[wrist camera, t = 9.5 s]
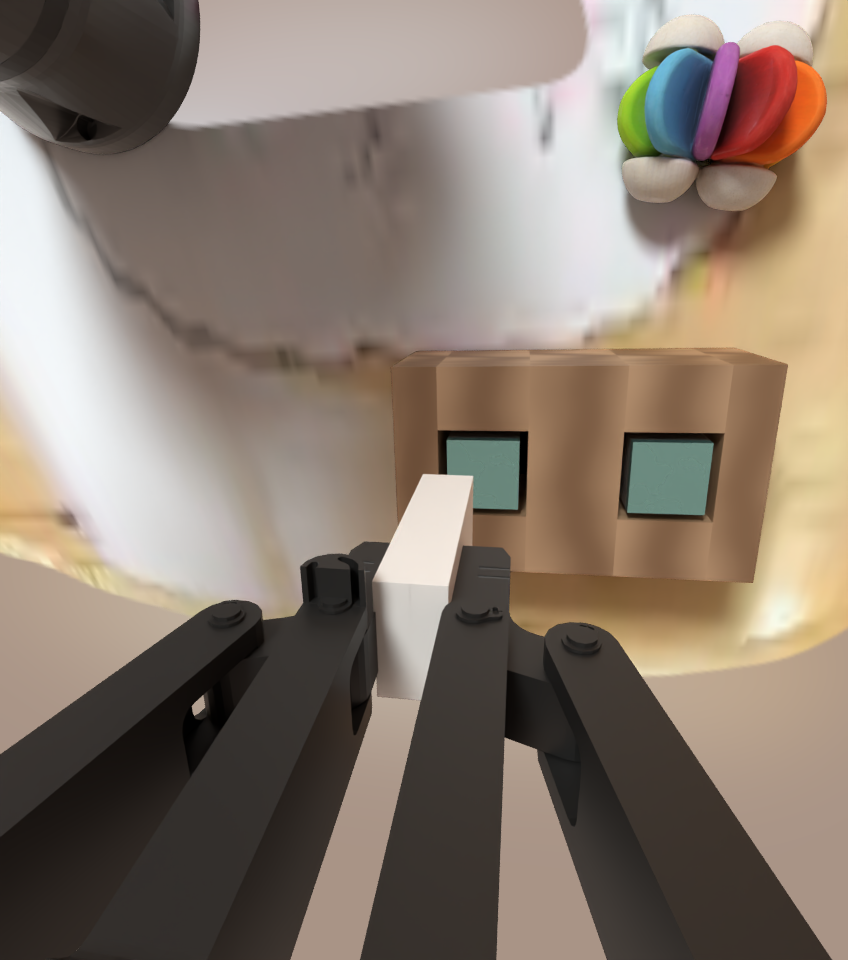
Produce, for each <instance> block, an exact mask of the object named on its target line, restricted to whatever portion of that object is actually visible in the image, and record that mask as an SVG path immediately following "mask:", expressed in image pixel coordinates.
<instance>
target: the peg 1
mask: <svg viewBox="0 0 848 960" xmlns="http://www.w3.org/2000/svg"><path fill="white" fill-rule="evenodd" d="M519 463H520V431H467V430H452V431H451V433H450V435H449V437H448V439H447V475H463V476H473V508H483V509H515V510H518V495H519Z"/></svg>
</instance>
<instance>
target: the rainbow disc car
mask: <svg viewBox="0 0 848 960" xmlns="http://www.w3.org/2000/svg"><path fill="white" fill-rule="evenodd" d="M642 62H643V64H644V65H645V67H647V68H648V69H649V70H648V71H647V72H645V73H644V74H642V75H641V76H640V77H639V78H638V79H636V80H635V81H634V83H633V84H632V85H631V86H630V87H629V89H628V90H627V92H626V93H625V95H624V96H623V98H622V100H621V103H620V106H619V111H618V118H617V124H618V131H619V135H620V137H621V139H622V141H623V143H624V144H625V146H626V147H627V149H628V150H629V151H630V152H631V153H632V155H633V156H634V157H636V158H632V159H629V160H627V161H625V162H624V163H623V166H622V175H623V181H624V184H625V186H626V188H627V190H628V191H629V193H630V194H631V195H632V196H633V197H634V198H636V199H637V200H640V201H645V202H652V203H666V202H670V201H673V200H675V199H676V198H678V197H680V196H681V195H682V194H683V193H685V192H686V191H687V190H688V189H689V188H690V186H691V185H692V183H693V182H694V180H695V179H696V187H697V191H698V194H699V196H700V198H701V200H702V201H703V202H704V203H705V204H706V205H707V206H709V207H710V208H714V209H718V210H726V211H742V210H746V209H748V208H750V207H752V206H754V205H755V204H757V203H758V202H760V201H761V200H762V199H763V198H764V197H765V196H766V195H767V194H768V193H769V191H770V190H771V189H772V187H773V185H774V183H775V182H776V179H777V176H776V174H775V173H774V172H772V171H770V170H768V168H769V167H771V166H773V165H775V164H776V163H778V162H779V161H781V160H783V159H784V158H786V157H787V156H789V155H791V154H792V153H794V152H796V151H797V150H798V149H799V148H801V147H802V146H803V145H804V144H805V143H806V142H807V141H808V140H809V139H810V137H811V136H812V135H813V134H814V132H815V131H816V130H817V128H818V127H819V125H820V123H821V121H822V120H823V117H824V115H825V112H826V104H827V95H826V89H825V86H824V83H823V81H822V78H821V77H820V75H819V74H818V73H817V72H816V71H815V70H814V69H813V68H812V67H811V66H812V62H813V48H812V43H811V40H810V38H809V36H808V34H807V33H806V31H805V30H804V29H803V28H801V27H800V26H799V25H797V24H795V23H792V22H788V21H773V22H767V23H764V24H762V25H760V26H758V27H756V28H754V29H753V30H751V31H750V32H749V33H747V34H746V35H745V36H744V37H743V38H742V39H741V40H740V41H739V42H738V43H737V44H736V43H734V42H728V43H725V42H724V39H723V35H722V33H721V31H720V29H719V28H718V26H717V25H716V24H715V23H714V22H713V21H712V20H710V19H709V18H707V17H704V16H701V15H684V16H679V17H677V18H675V19H673V20H671V21H669V22H668V23H666V24H665V25H664V26H662V27H661V28H660V29H659V30H658V31H657V32H656V33H655V35H654V36H653V37H652V38H651V40H650V42H649V43H648V45H647V47H646V49H645V52H644V55H643V59H642ZM706 159H708V161H709V163H710V165H708V166H705V167H702V168H699V167H698V165H697V164H696V160H698V161H703V160H706Z"/></svg>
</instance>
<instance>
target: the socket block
mask: <svg viewBox="0 0 848 960" xmlns="http://www.w3.org/2000/svg"><path fill="white" fill-rule="evenodd" d="M787 368H788V364H785V363H781V362H778V361H775V360H772V359H769V358H766V357H762V356H759V355H756V354H753V353H750V352H746V351H743V350H740V349H737V348H668V349H576V350H483V351H416V352H414V353H413V354H411V355H409V356H408V357H406V358H405V359H403V360H401V361H400V362H398V363H397V364H395V365H394V366H392V367H391V380H392V402H393V425H394V448H395V470H396V493H397V516H398V526H399V524H400V522H401V519H402V517H403V515H404V513H405V511H406V509H407V507H408V505H409V503H410V500H411V498H412V496H413V494H414V492H415V490H416V488H417V486H418V484H419V482H420V479H421V477H422V475H423V474H436V475H447V439H448V437H449V435H450V433H451V431H452V430H467V431H527V458H526V474H519V495H518V510H515V509H483V508H473V532H472V546H482V547H501V548H503V549H504V550H505V551H506V552H507V553H508V555H509V556H510V557H511V566H510V571H513V572H534V573H555V574H576V575H597V576H618V577H639V578H660V579H681V580H702V581H723V582H743V583H753V580H754V573H755V567H756V561H757V555H758V548H759V542H760V536H761V530H762V524H763V517H764V511H765V505H766V499H767V492H768V486H769V480H770V474H771V467H772V461H773V455H774V449H775V443H776V436H777V430H778V424H779V418H780V411H781V405H782V399H783V393H784V387H785V380H786V374H787ZM624 432H656V433H702V434H703V435H705V436H706V437H707V438H708V439H709V440H710V441H712V442H713V443H714V445H713V453H712V460H711V468H710V476H709V484H708V492H707V500H706V507H705V515H684V514H652V513H627V511H626V509H625V506H624V504H623V502H622V500H621V497H620V495H619V491H620V478H621V466H622V453H623V440H624Z"/></svg>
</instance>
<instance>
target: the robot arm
mask: <svg viewBox="0 0 848 960" xmlns="http://www.w3.org/2000/svg"><path fill="white" fill-rule="evenodd" d="M199 43H200V13H199V2H198V0H0V111H1V112H2V113H3V114H4V115H6V116H7V117H8V118H10V119H11V120H12V121H13V122H15V123H16V124H17V125H19V126H20V127H22V128H23V129H25V130H27V131H28V132H30V133H32V134H34V135H36V136H37V137H39V138H42V139H44V140H46V141H49V142H51V143H54V144H57V145H61V146H64V147H67V148H71V149H74V150H78V151H81V152H86V153H92V154H114V153H119V152H124V151H127V150H130V149H133V148H135V147H138V146H140V145H142V144H143V143H145V142H147V141H148V140H150V139H151V138H153V137H154V136H155V135H157V134H158V133H159V132H160V131H161V130H162V129H163V128H164V127H165V126H166V125H167V124H168V123H169V122H170V120H171V119H172V118H173V116H174V115H175V114H176V112H177V111H178V109H179V108H180V106H181V104H182V102H183V100H184V98H185V96H186V94H187V92H188V90H189V87H190V84H191V82H192V78H193V75H194V72H195V67H196V63H197V57H198V52H199ZM472 532H473V476H463V475H436V474H423V475H422V477H421V479H420V482H419V484H418V486H417V488H416V490H415V492H414V494H413V496H412V498H411V500H410V503H409V505H408V507H407V509H406V511H405V513H404V515H403V517H402V519H401V522H400V524H399V526H398V528H397V530H396V532H395V534H394V536H393V538H392V540H391V543H381V542H363V543H362V544H360V545H359V546H357V547H355V548H354V549H352V550H351V552H350V553H349V555H346V554H327V555H322V556H317V557H315V558H312V559H310V560H308V561H306V562H305V563H304V564H303V565H301V566H300V570H301V581H302V592H303V604H302V606H301V607H300V609H299V610H298V612H297V613H296V615H295V616H291V617H285V618H277V619H269V620H263V617H262V610H261V609H260V608H259V606H258V605H256V604H254V603H252V602H249V601H240V600H231V601H230V600H229V601H223V602H221V603H218V604H215V605H212V606H210V607H208V608H206V609H204V610H202V611H201V612H199V613H198V614H196V615H195V616H194V617H192V618H191V619H189V620H188V621H187V622H185V623H184V624H183V625H181V626H180V627H178V628H177V629H175V630H174V631H173V632H171V633H170V634H168V635H167V636H166V637H164V638H163V639H161V640H160V641H159V642H157V643H156V644H154V645H153V646H152V647H150V648H149V649H147V650H146V651H145V652H143V653H142V654H140V655H139V656H138V657H136V658H135V659H133V660H132V661H131V662H129V663H128V664H126V665H125V666H123V667H122V668H121V669H119V670H118V671H116V672H115V673H114V674H112V675H111V676H109V677H108V678H107V679H105V680H104V681H102V682H101V683H100V684H98V685H97V686H96V687H94V688H93V689H91V690H90V691H88V692H87V693H86V694H84V695H83V696H82V697H80V698H79V699H77V700H76V701H74V702H73V703H72V704H70V705H69V706H68V707H66V708H65V709H63V710H62V711H60V712H59V713H58V714H56V715H55V716H53V717H52V718H51V719H49V720H48V721H46V722H45V723H44V724H42V725H41V726H40V727H38V728H37V729H35V730H34V731H32V732H31V733H30V734H28V735H27V736H25V737H24V738H23V739H21V740H20V741H18V742H17V743H16V744H14V745H13V746H11V747H10V748H9V749H7V750H6V751H4V752H3V753H2V754H0V960H290V959H291V956H292V952H293V950H294V946H295V944H296V940H297V938H298V934H299V931H300V928H301V925H302V922H303V919H304V916H305V913H306V910H307V907H308V904H309V901H310V898H311V895H312V892H313V889H314V886H315V883H316V880H317V877H318V874H319V871H320V868H321V865H322V862H323V859H324V856H325V853H326V850H327V847H328V844H329V840H330V838H331V835H332V832H333V828H334V826H335V823H336V820H337V817H338V814H339V811H340V807H341V805H342V802H343V798H344V795H345V792H346V789H347V786H348V783H349V780H350V777H351V774H352V771H353V768H354V765H355V762H356V759H357V756H358V753H359V750H360V747H361V744H362V741H363V738H364V734H365V732H366V729H367V726H368V723H369V720H370V717H371V714H372V696H371V690H372V688H373V685H374V682H375V679H376V677H377V696H378V697H388V698H399V699H411V700H420V701H421V702H420V707H419V711H418V715H417V719H416V724H415V728H414V732H413V737H412V741H411V745H410V749H409V754H408V758H407V762H406V766H405V771H404V775H403V779H402V784H401V788H400V792H399V796H398V800H397V805H396V809H395V813H394V817H393V822H392V826H391V830H390V835H389V839H388V843H387V847H386V852H385V856H384V860H383V865H382V869H381V873H380V877H379V881H378V886H377V890H376V894H375V898H374V903H373V907H372V911H371V916H370V920H369V924H368V928H367V933H366V937H365V941H364V945H363V950H362V954H361V959H360V960H496V951H497V922H498V897H499V896H498V895H499V871H500V870H499V867H500V843H501V817H502V790H503V764H504V737H505V738H508V739H511V740H513V741H516V742H519V743H521V744H524V745H527V746H530V747H532V748H535V749H537V752H538V761H539V764H540V767H541V770H542V773H543V776H544V779H545V782H546V784H547V787H548V790H549V793H550V796H551V799H552V802H553V805H554V808H555V811H556V813H557V816H558V819H559V821H560V825H561V828H562V831H563V834H564V837H565V840H566V843H567V845H568V848H569V851H570V854H571V857H572V860H573V863H574V866H575V869H576V871H577V874H578V877H579V880H580V883H581V886H582V889H583V892H584V895H585V897H586V900H587V903H588V906H589V909H590V912H591V915H592V918H593V920H594V923H595V926H596V929H597V932H598V935H599V938H600V941H601V944H602V946H603V949H604V953H605V955H606V958H607V960H832V959H831V958H830V956H829V955H828V953H827V952H826V950H825V949H824V947H823V946H822V944H821V943H820V941H819V940H818V938H817V937H816V935H815V934H814V932H813V931H812V930H811V928H810V926H809V925H808V924H807V922H806V921H805V919H804V918H803V916H802V915H801V913H800V912H799V910H798V909H797V907H796V906H795V904H794V903H793V901H792V900H791V898H790V897H789V895H788V894H787V892H786V891H785V889H784V888H783V886H782V885H781V883H780V882H779V880H778V879H777V877H776V876H775V874H774V873H773V872H772V870H771V868H770V867H769V865H768V864H767V863H766V861H765V859H764V858H763V856H762V855H761V854H760V852H759V851H758V849H757V848H756V846H755V845H754V843H753V842H752V840H751V839H750V837H749V836H748V834H747V833H746V831H745V830H744V828H743V827H742V825H741V824H740V822H739V821H738V819H737V818H736V816H735V815H734V814H733V812H732V811H731V809H730V807H729V806H728V804H727V803H726V801H725V800H724V798H723V797H722V795H721V794H720V793H719V791H718V790H717V788H716V787H715V785H714V784H713V782H712V781H711V779H710V778H709V776H708V775H707V773H706V772H705V770H704V769H703V767H702V766H701V764H700V763H699V761H698V760H697V758H696V757H695V755H694V754H693V752H692V751H691V750H690V748H689V746H688V745H687V744H686V742H685V741H684V739H683V737H682V736H681V735H680V733H679V732H678V730H677V729H676V727H675V726H674V724H673V723H672V721H671V720H670V718H669V717H668V715H667V714H666V712H665V711H664V710H663V708H662V707H661V705H660V703H659V702H658V700H657V699H656V697H655V696H654V694H653V693H652V691H651V690H650V688H649V687H648V685H647V684H646V682H645V681H644V679H643V678H642V676H641V675H640V674H639V672H638V671H637V669H636V668H635V666H634V665H633V663H632V662H631V660H630V659H629V657H628V656H627V654H626V653H625V651H624V650H623V648H622V647H621V645H620V644H619V642H618V641H617V640H616V639H615V638H614V637H613V636H612V635H611V634H610V633H609V632H607V631H605V630H603V629H601V628H599V627H597V626H594V625H591V624H587V623H574V622H569V623H564V624H558V625H556V626H554V627H553V628H551V629H549V630H548V632H547V633H546V635H545V637H543V636H539V635H536V634H533V633H530V632H528V631H526V630H524V629H522V628H520V627H519V626H518V625H517V624H516V623H514V622H513V620H512V619H511V617H510V613H509V596H510V566H511V557H510V556H509V555H508V553H507V552H506V551H505V550H504V549H503V548H501V547H482V546H472ZM202 695H204V701H205V708H204V709H203V710H202V711H201V712H200V713H199V714H197V715H195V716H194V715H193V712H192V705H193V704H194V703H195V702H196V701H197V700H198V699H199V698H200V697H201V696H202ZM78 948H79V949H78ZM77 949H78V950H77ZM76 950H77V951H76Z"/></svg>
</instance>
